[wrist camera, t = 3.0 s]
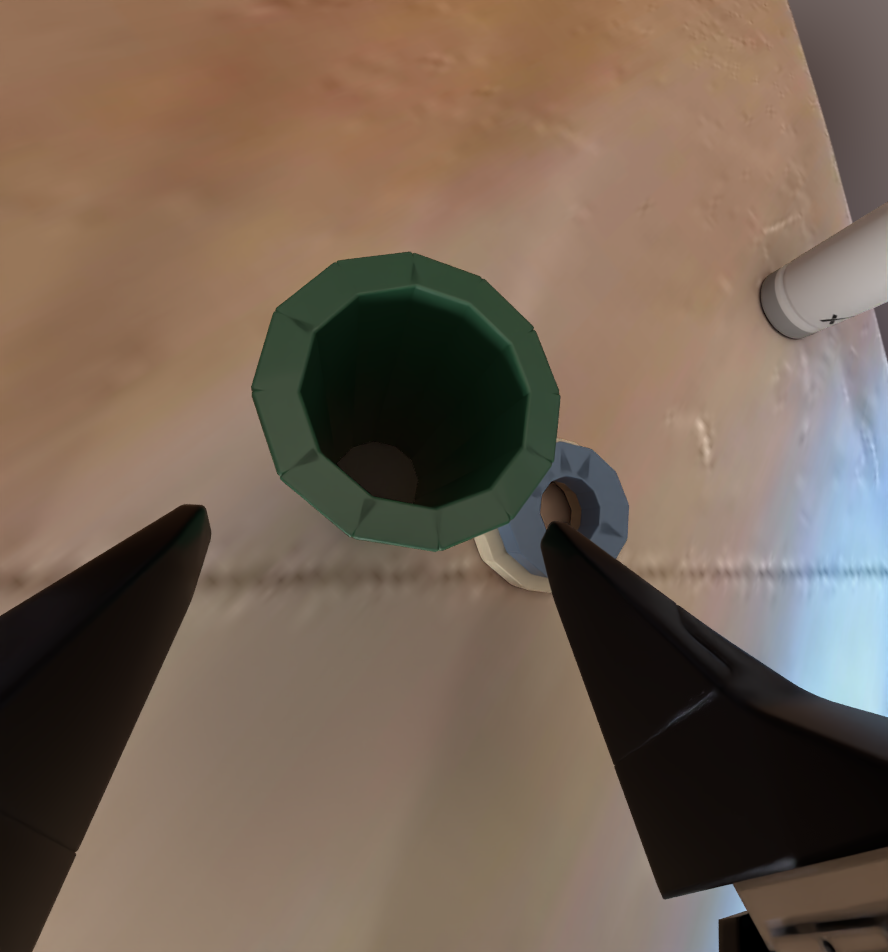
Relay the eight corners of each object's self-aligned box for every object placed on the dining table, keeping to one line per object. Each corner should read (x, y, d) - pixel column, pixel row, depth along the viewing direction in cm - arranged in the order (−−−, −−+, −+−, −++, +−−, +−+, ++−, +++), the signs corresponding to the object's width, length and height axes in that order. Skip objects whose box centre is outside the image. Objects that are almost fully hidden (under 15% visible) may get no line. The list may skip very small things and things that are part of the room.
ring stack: (617, 555, 22) (663, 558, 19) (500, 613, 19) (531, 628, 16) (568, 428, 23) (604, 410, 19) (448, 468, 20) (467, 455, 17)
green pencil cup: (445, 516, 19) (599, 487, 8) (338, 556, 18) (318, 602, 6) (409, 416, 20) (501, 239, 8) (301, 446, 18) (211, 274, 6)
